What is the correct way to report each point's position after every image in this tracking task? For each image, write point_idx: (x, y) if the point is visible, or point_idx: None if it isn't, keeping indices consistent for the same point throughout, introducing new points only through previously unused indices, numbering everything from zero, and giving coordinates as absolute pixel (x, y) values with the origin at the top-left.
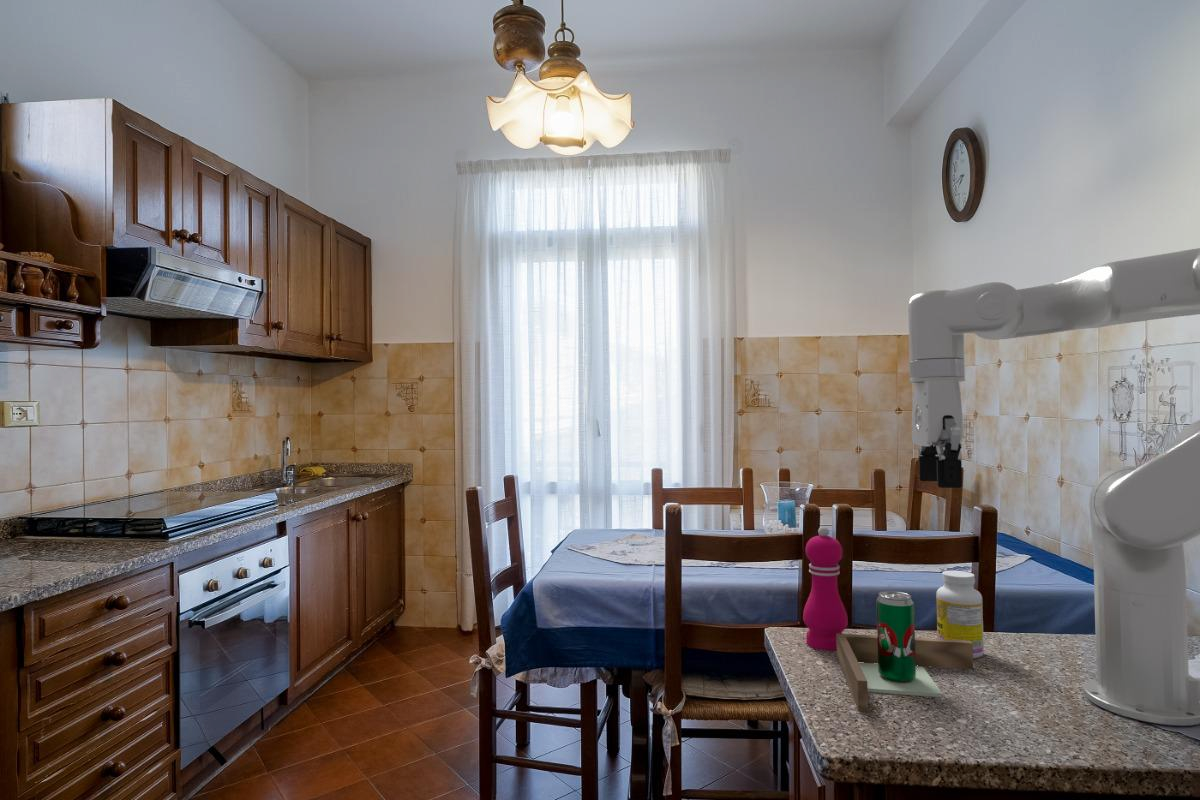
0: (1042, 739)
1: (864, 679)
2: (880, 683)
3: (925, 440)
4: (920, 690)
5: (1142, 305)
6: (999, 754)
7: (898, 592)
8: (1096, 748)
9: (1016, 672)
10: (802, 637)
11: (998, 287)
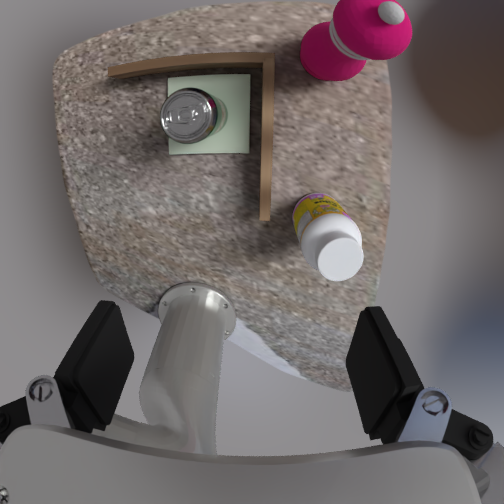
0: (106, 214)
1: (111, 73)
2: None
3: (37, 447)
4: None
5: None
6: (75, 175)
7: (202, 124)
8: (105, 246)
9: (258, 250)
10: None
11: None
